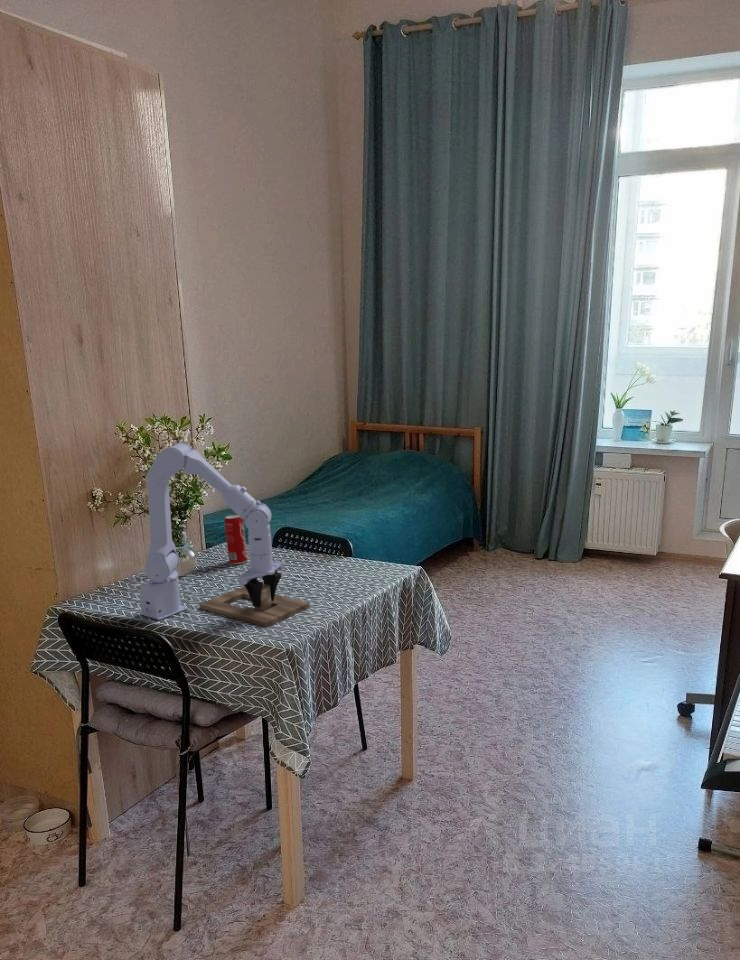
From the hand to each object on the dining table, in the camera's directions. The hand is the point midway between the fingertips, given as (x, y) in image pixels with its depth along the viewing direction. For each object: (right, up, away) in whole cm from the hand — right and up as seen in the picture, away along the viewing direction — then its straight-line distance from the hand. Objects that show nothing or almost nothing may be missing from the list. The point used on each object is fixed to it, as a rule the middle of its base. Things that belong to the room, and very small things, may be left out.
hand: (263, 603), depth 190 cm
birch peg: (0, -2, 0) cm, 2 cm away
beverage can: (-14, +6, +42) cm, 45 cm away
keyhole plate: (-3, -2, +2) cm, 4 cm away
